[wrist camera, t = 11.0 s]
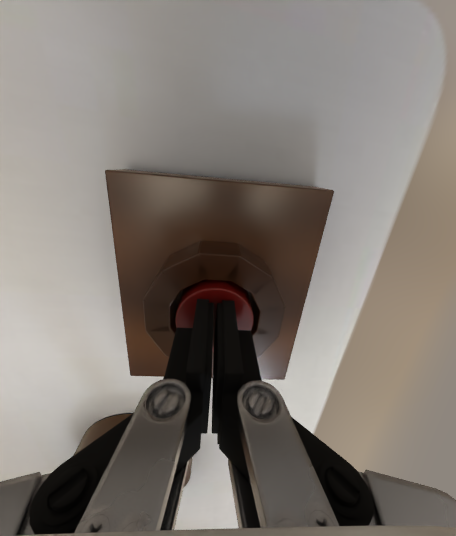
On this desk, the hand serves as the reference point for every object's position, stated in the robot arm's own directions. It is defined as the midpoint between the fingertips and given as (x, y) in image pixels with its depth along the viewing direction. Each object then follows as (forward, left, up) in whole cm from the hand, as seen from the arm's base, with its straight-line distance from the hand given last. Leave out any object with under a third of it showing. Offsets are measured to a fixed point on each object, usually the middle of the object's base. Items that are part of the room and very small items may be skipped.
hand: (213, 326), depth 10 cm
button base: (0, 0, -4) cm, 4 cm away
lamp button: (0, 0, -2) cm, 2 cm away
